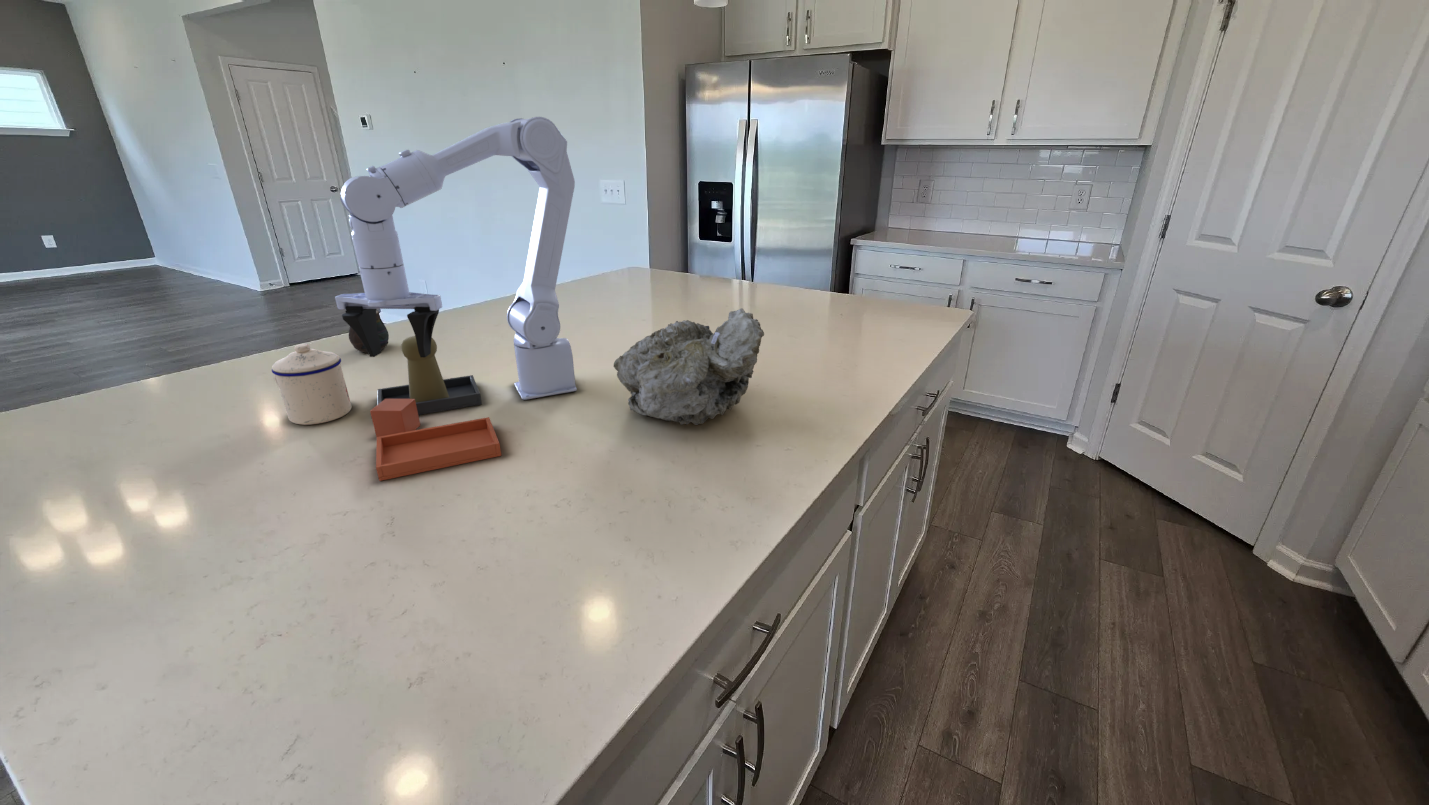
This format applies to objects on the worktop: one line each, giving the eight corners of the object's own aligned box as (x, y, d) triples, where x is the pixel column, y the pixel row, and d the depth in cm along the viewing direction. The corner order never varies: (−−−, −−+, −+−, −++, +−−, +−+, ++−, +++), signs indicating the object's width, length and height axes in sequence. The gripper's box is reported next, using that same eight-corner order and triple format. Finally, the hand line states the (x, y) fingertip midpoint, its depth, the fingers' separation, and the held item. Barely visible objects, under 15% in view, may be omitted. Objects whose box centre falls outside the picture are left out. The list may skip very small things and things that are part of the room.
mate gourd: (381, 342, 129) (371, 297, 125) (399, 348, 125) (389, 302, 121) (346, 350, 123) (334, 304, 119) (364, 357, 119) (352, 309, 115)
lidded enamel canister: (366, 406, 97) (349, 339, 92) (318, 429, 89) (296, 357, 84) (311, 397, 100) (292, 332, 96) (259, 419, 92) (235, 349, 88)
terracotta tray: (491, 428, 90) (489, 416, 89) (501, 455, 82) (499, 443, 81) (379, 449, 83) (376, 437, 83) (379, 481, 76) (375, 467, 75)
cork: (434, 408, 95) (421, 344, 91) (401, 404, 97) (387, 341, 92) (456, 394, 101) (445, 333, 96) (425, 391, 102) (412, 330, 98)
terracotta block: (376, 438, 87) (369, 410, 85) (391, 425, 91) (385, 398, 89) (406, 438, 87) (400, 410, 85) (420, 425, 91) (414, 398, 89)
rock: (670, 301, 106) (762, 273, 86) (716, 379, 112) (812, 369, 92) (572, 375, 94) (652, 362, 74) (628, 458, 100) (717, 466, 80)
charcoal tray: (474, 385, 106) (472, 374, 105) (481, 404, 98) (480, 393, 98) (380, 399, 100) (377, 388, 99) (379, 421, 92) (377, 410, 91)
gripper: (313, 270, 80) (337, 363, 86) (419, 271, 80) (436, 364, 86) (343, 261, 87) (364, 348, 92) (441, 262, 87) (456, 349, 92)
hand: (400, 355), depth 89 cm, fingers open, 7 cm apart
